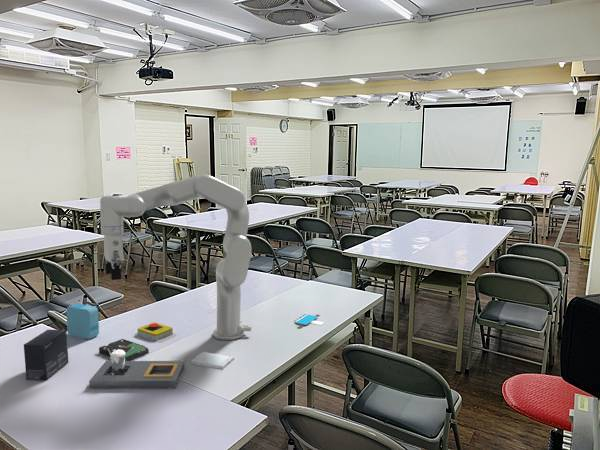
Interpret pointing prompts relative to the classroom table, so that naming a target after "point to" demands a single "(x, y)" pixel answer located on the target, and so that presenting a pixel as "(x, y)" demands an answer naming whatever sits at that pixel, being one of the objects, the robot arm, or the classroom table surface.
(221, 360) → the hard drive
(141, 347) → the disk drive
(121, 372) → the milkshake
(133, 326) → the classroom table surface
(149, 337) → the emergency button
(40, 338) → the small box
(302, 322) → the phone stand
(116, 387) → the grey sorting tray
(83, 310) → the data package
